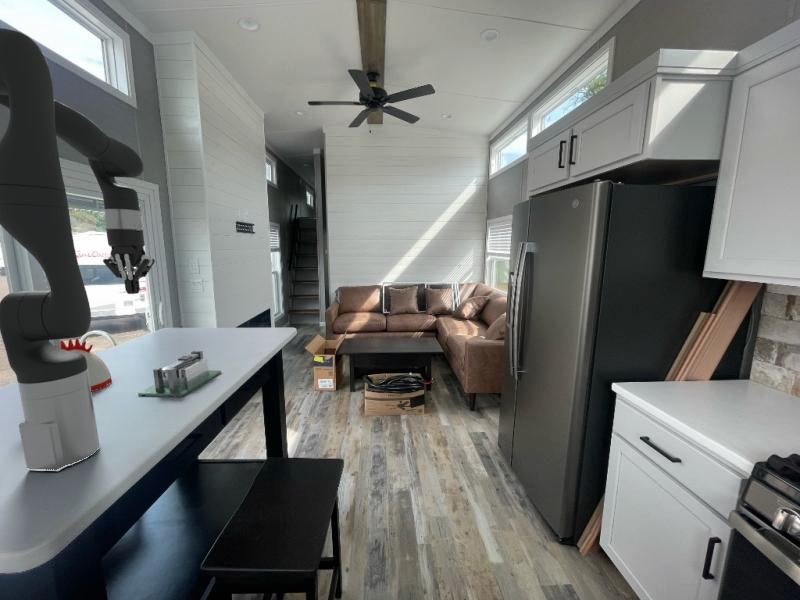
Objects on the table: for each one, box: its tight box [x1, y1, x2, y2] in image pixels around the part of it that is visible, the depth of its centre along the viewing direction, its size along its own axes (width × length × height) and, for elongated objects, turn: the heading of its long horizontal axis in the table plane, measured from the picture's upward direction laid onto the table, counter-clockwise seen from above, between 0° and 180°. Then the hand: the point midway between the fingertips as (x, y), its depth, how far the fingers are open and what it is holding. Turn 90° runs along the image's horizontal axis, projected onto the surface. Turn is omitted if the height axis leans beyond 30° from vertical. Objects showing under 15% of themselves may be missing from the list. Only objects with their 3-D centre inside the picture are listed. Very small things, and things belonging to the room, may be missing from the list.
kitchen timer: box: [54, 337, 112, 392], centre depth 97 cm, size 14×14×15 cm
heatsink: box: [137, 350, 222, 398], centre depth 100 cm, size 18×13×8 cm
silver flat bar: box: [159, 353, 198, 373], centre depth 99 cm, size 13×3×1 cm, turn 177°
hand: (133, 293), depth 88 cm, fingers closed
